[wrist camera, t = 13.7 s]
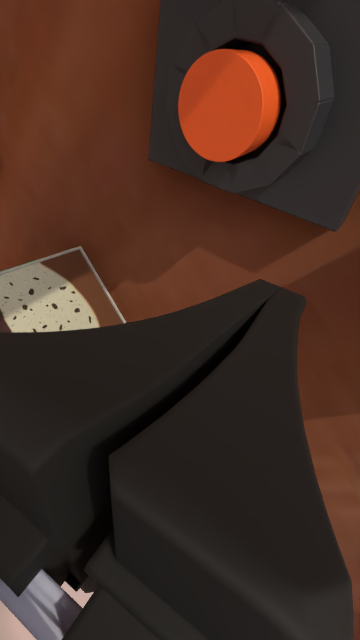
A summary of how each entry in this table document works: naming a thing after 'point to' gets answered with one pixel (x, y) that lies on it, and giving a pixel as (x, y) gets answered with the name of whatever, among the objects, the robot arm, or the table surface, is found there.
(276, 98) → the desk button
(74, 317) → the food container
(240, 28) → the button block
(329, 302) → the table surface
